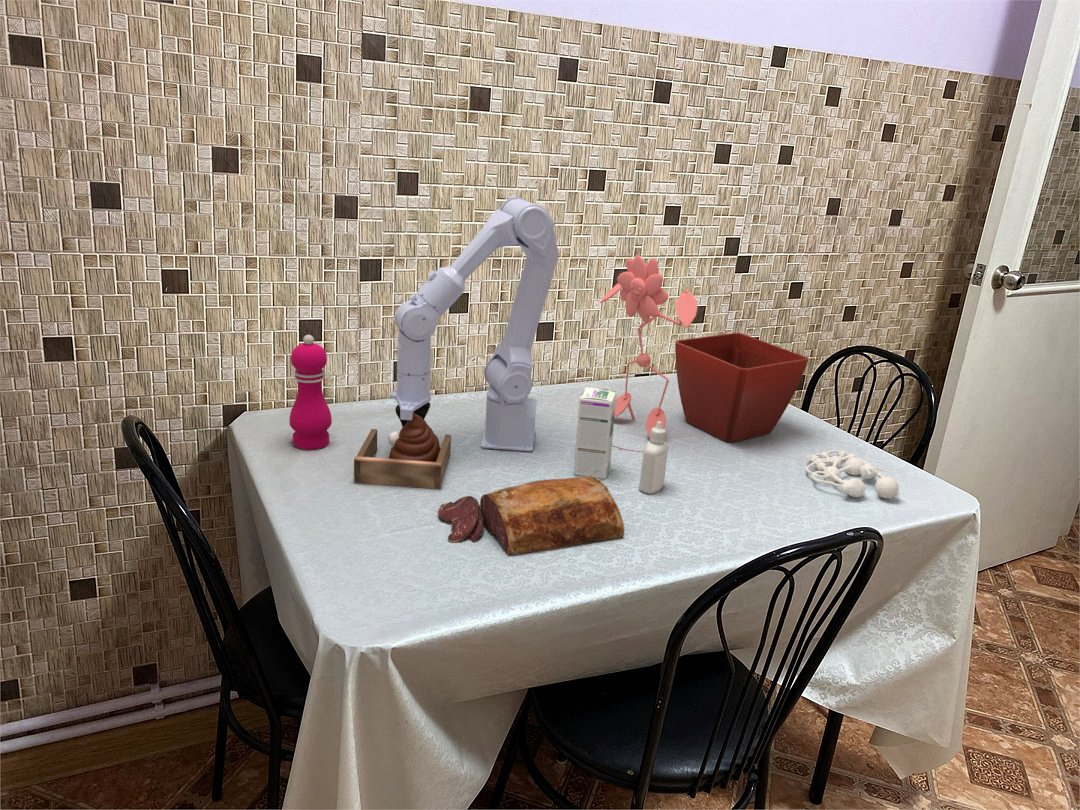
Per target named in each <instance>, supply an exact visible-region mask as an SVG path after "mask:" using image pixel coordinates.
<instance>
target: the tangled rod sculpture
mask: <svg viewBox="0 0 1080 810" xmlns="http://www.w3.org/2000/svg"><path fill="white" fill-rule="evenodd" d="M831 453H836V455H833V456H831V457H830V456H829V454H831ZM806 460H807V461H810V463H809V464H808V465H807V466H805V468H804V471H805V472H807V473H808V474H810V475H811V479H812V480H813V481H814V482H817V483H822V484H828V485H832V486H835V487H837V488H840V489H841V491H842V492H843V493H845V494H846V495H848V496H850V497H851V498H860V497H862V496H863V495H864V494H865V492H866V485H865V483H864V482H863V481H862V480H861V479H860V478H855V477H856V476H858V475H860V476H861V477H862V478H864V479H872V478H873V477H874V476H876V477H877V478H879V479H877V481H876V482H875V485H874V489H875V492H876V494H877V495H878V496H879V497H881V498H884V499H892V498H895V496H897V494H898V493H899V490H900V489H899V488H900V487H899V486H900V485H899V483H898V482H897V480H896V479H895V478H894V477H892V476H884V475H883V474H882V473H880V472H879V471H878V470H880V471H881V472H885V468H884V467H875V466H874V465H873V464H872V463H870V462H867V461H866V460H864V459H862V458H861V457H858V456H857V455H855V454H854V453H852V452H851V453H847V451H845V450H843V449H842V450H837V449H831V450H829V451H825V450H823V451H821V452H819V453H818V452H817V453H813V454H811V455H810V456H809V455H808V456H806ZM842 461H845V462H844V466H843V467H841V468H839V467H840V465H841V464H842ZM827 464H829V466H827ZM812 466H814V467H816V469H817V470H815V471H811V470H809V469H810V468H811V467H812ZM841 472H846V473H847V474H848V475H850V476H855V477H852V478H851V479H849V480H847V479H842V478H841ZM818 478H820V479H818Z"/></svg>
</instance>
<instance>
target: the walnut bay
mask: <svg viewBox="0 0 1080 810" xmlns="http://www.w3.org/2000/svg"><path fill="white" fill-rule="evenodd" d="M451 447H452V434H444V438H443V441H442V444H441V446H440V448H441V449H440V452H439V455H438V458H437V461H436V462H427V461H413V460H400V459H389V458H386V457H385V458H384V457H375V456H376V453H377V452H378V429H377V428H376V429H375V428H371V429H370V431H369V433H368V434H367V436H366V438H365V440H364V442H363V444H362V445H361V447H360V448H359V451H358V452H357V454H356V455H355V456H354V458H353V483H355V484H363V485H364V484H365V485H379V486H393V487H407V488H415V489H416V488H418V489H433V490H441V488H442V484H443V482H444V478H445V474H446V471H447V469H448V465H449V462H450V458H451V452H452V449H451Z"/></svg>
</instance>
